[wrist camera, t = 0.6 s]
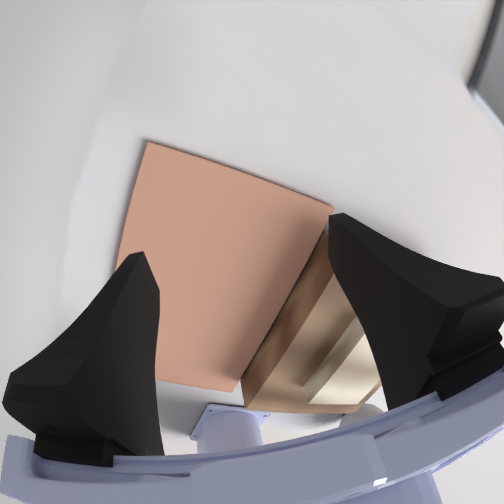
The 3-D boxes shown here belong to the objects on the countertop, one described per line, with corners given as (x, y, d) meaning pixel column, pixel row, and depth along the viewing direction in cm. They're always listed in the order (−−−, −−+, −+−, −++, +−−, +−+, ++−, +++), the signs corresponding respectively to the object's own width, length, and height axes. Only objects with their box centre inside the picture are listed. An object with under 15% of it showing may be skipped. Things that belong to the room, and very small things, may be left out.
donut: (359, 389, 36) (388, 450, 27) (378, 388, 37) (407, 445, 28) (325, 428, 40) (344, 482, 31) (343, 426, 41) (363, 478, 32)
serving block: (343, 388, 35) (354, 412, 31) (240, 379, 31) (245, 409, 27) (430, 272, 28) (452, 294, 24) (324, 230, 24) (344, 255, 20)
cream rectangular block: (350, 389, 28) (357, 404, 27) (302, 387, 27) (308, 403, 25) (402, 326, 25) (413, 340, 23) (355, 316, 23) (365, 332, 21)
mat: (231, 389, 31) (231, 392, 31) (103, 363, 27) (102, 365, 27) (332, 206, 23) (334, 208, 22) (148, 141, 18) (147, 142, 18)
